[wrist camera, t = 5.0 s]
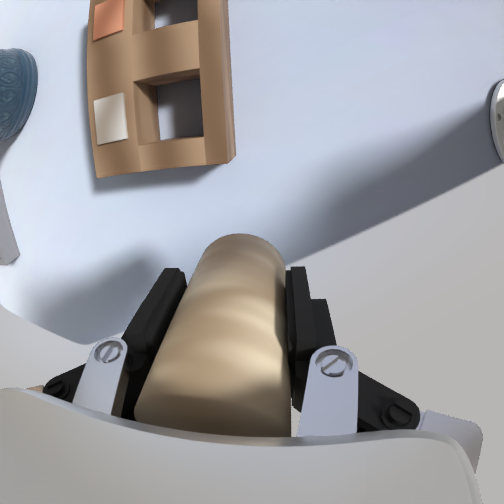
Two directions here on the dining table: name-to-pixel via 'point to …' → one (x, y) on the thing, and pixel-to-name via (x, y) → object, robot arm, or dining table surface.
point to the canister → (16, 90)
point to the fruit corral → (6, 235)
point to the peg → (225, 348)
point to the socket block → (154, 74)
